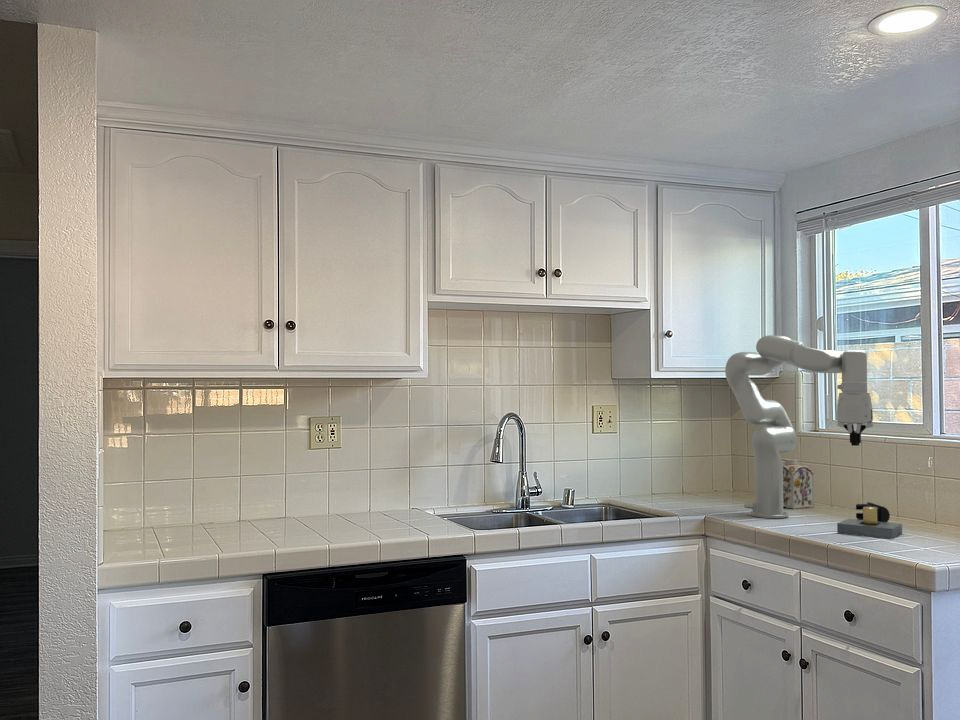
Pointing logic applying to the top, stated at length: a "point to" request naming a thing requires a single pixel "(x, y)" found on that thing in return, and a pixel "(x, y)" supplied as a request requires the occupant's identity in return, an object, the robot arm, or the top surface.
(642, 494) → the top surface
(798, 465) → the decorative jar
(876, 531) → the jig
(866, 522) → the beige cylinder
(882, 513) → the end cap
